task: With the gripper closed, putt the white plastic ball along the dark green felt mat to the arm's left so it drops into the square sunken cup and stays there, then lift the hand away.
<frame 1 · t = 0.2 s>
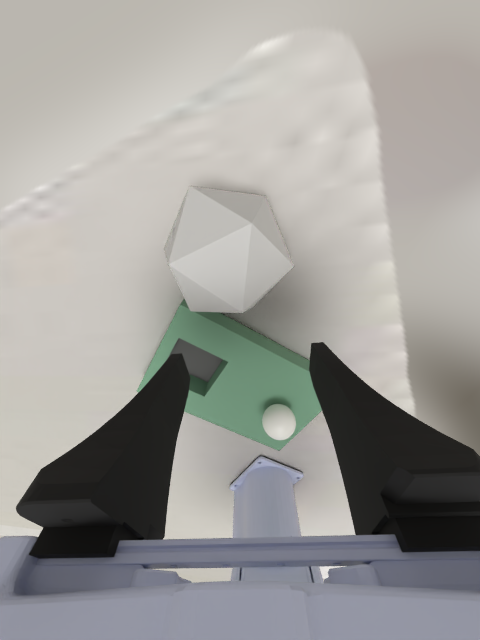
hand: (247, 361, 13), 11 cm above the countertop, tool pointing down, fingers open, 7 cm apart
green: (239, 375, 26), on the countertop
ball: (278, 421, 24), point 4 cm above the countertop, touching green
die: (229, 248, 20), on the countertop
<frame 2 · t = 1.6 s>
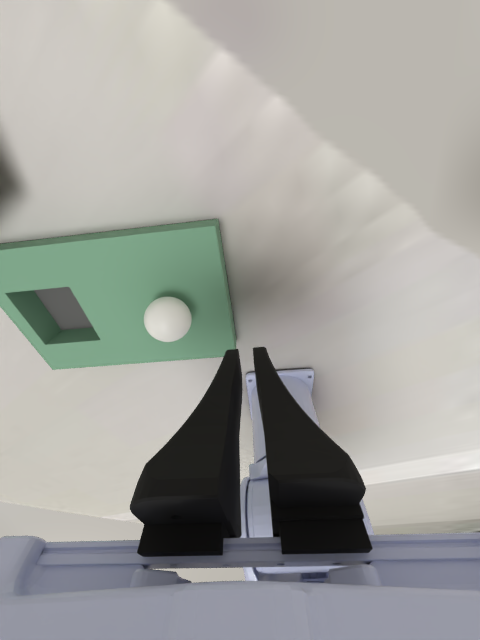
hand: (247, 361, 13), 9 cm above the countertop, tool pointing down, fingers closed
green: (129, 298, 21), on the countertop
ball: (168, 319, 17), point 4 cm above the countertop, touching green
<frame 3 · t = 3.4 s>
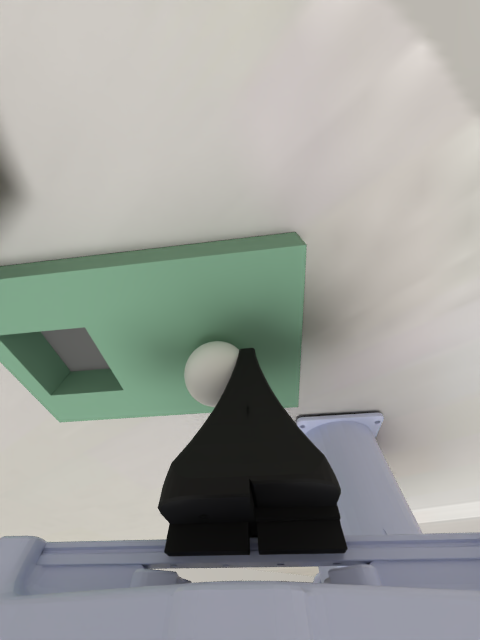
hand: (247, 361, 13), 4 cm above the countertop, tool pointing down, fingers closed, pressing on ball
green: (160, 334, 16), on the countertop
ball: (216, 372, 12), point 4 cm above the countertop, tilted 15°, touching green, gripper
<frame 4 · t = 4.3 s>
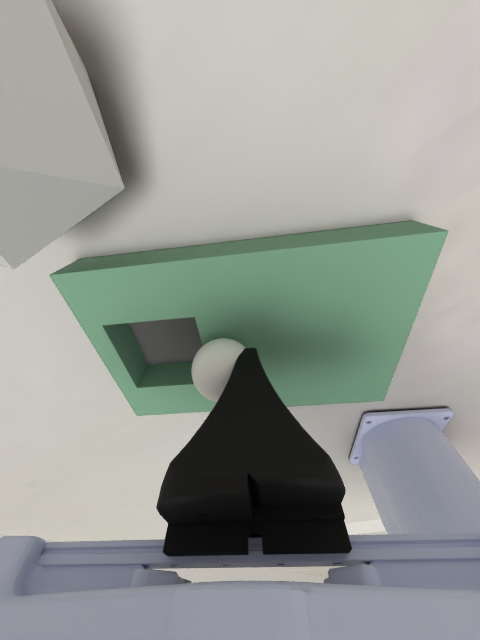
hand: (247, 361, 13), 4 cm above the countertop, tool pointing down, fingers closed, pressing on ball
green: (247, 326, 16), on the countertop
ball: (223, 369, 12), point 4 cm above the countertop, tilted 145°, touching green, gripper
die: (46, 124, 10), on the countertop
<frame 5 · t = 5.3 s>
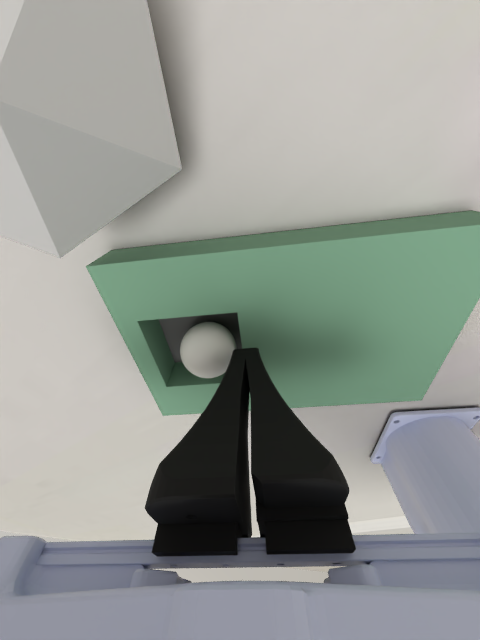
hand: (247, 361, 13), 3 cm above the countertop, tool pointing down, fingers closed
green: (282, 323, 15), on the countertop
ball: (208, 349, 14), point 2 cm above the countertop, tilted 53°, touching green
die: (86, 99, 9), on the countertop
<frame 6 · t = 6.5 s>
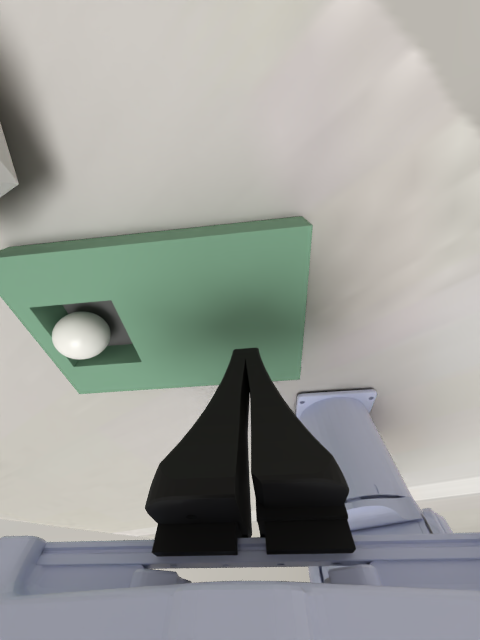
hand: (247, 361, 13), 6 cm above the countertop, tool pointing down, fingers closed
green: (174, 311, 17), on the countertop
ball: (82, 335, 16), point 2 cm above the countertop, touching green
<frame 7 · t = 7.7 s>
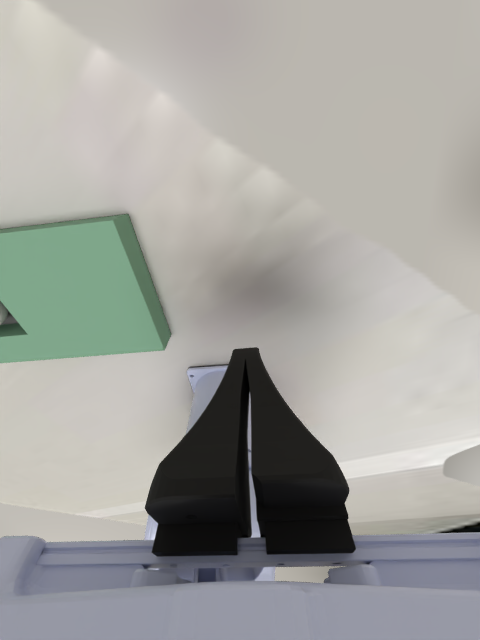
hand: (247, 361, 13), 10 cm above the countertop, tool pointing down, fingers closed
green: (57, 293, 21), on the countertop
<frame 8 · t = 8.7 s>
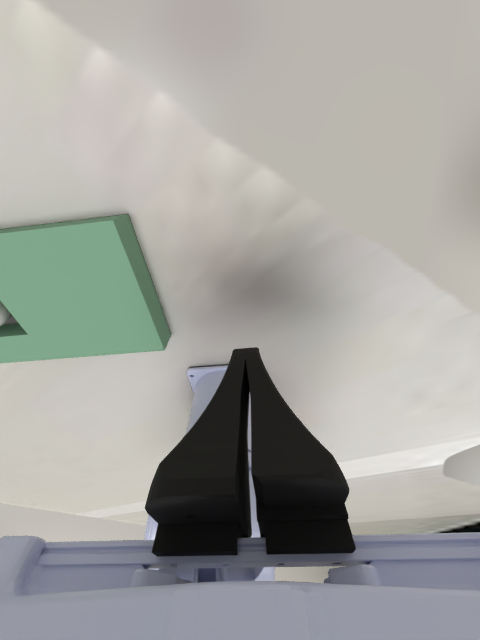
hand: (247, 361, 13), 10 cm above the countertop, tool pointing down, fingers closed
green: (57, 293, 21), on the countertop
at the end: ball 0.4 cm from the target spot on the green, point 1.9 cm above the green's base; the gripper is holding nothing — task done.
